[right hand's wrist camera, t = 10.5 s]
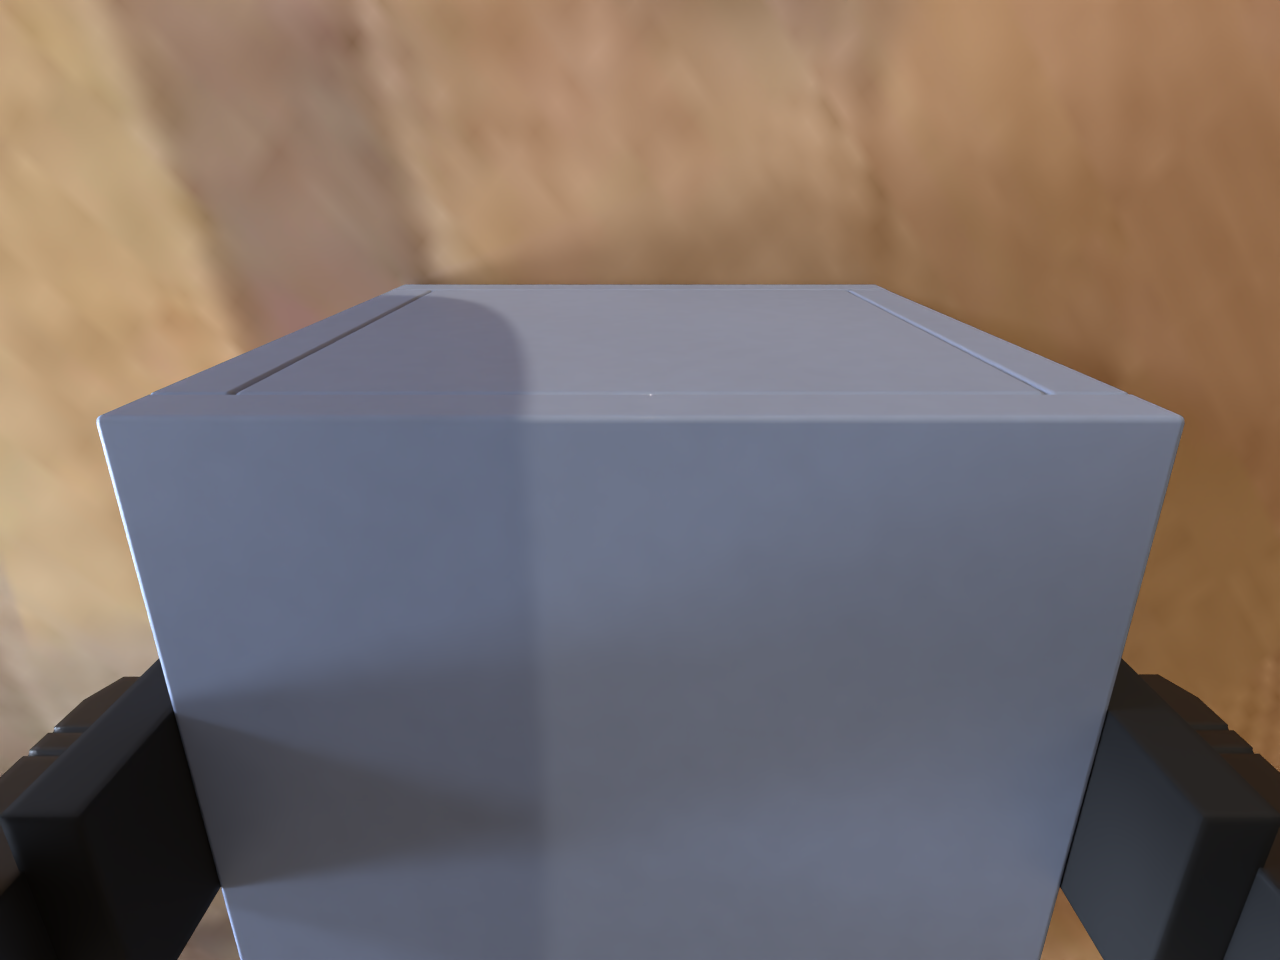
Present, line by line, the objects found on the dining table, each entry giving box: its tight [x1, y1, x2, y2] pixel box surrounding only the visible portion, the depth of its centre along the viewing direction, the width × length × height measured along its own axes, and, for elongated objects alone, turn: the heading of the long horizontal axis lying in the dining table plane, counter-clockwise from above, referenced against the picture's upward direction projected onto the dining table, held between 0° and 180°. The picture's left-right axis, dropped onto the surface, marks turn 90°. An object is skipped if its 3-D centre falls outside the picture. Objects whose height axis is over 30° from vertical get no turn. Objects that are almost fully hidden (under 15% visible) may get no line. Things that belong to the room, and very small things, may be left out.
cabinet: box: [97, 285, 1184, 960], centre depth 16 cm, size 19×11×10 cm, turn 0°
